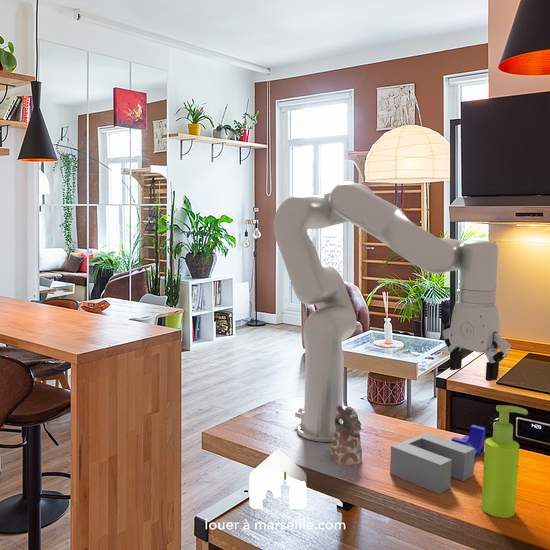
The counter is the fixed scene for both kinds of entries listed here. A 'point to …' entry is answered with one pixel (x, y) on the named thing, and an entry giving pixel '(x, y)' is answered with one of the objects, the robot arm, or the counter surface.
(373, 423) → the counter surface
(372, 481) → the counter surface
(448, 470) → the slotted block
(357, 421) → the figurine
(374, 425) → the counter surface
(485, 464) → the soap dispenser
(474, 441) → the cable clip
